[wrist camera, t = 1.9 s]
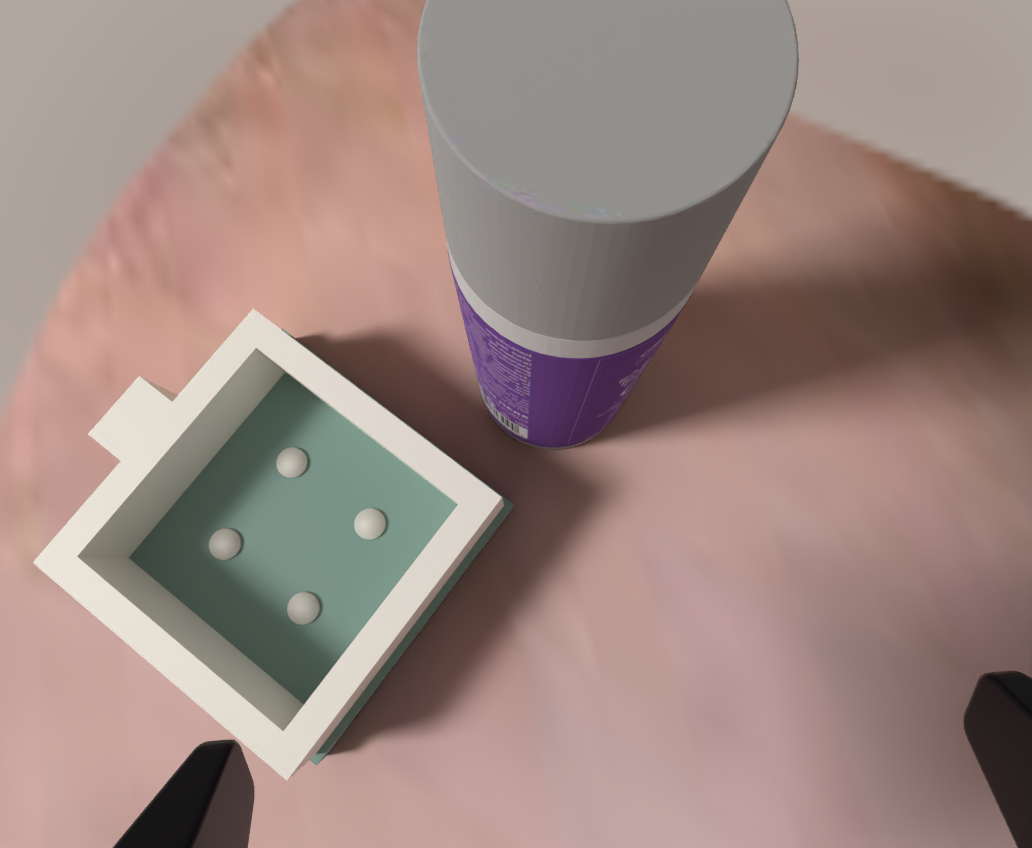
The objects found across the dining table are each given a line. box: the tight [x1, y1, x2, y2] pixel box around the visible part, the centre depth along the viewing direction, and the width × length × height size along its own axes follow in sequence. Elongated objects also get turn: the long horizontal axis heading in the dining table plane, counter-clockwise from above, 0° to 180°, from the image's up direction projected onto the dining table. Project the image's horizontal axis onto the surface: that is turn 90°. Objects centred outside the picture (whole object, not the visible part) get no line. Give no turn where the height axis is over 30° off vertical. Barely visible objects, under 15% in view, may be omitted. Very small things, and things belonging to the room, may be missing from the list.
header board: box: [33, 309, 514, 780], centre depth 20 cm, size 10×9×4 cm
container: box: [417, 0, 799, 450], centre depth 16 cm, size 5×5×15 cm
